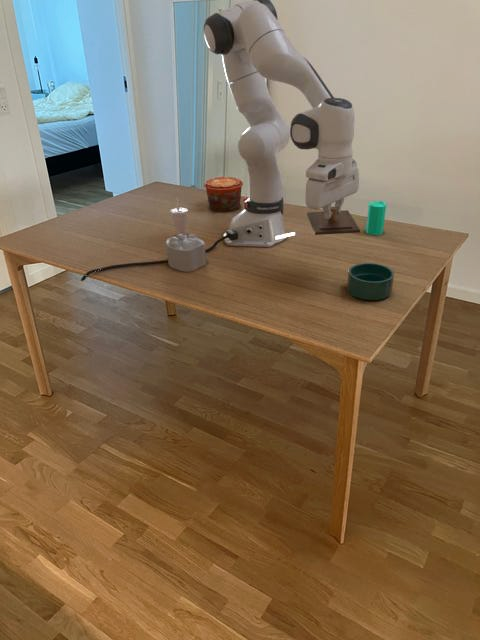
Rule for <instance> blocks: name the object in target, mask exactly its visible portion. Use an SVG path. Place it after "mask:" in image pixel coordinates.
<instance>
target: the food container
mask: <svg viewBox="0 0 480 640" xmlns="http://www.w3.org/2000/svg"><path fill="white" fill-rule="evenodd" d="M243 186H244V182H243V181H242V180H241V179H240V178H237V177H234V176H227V177H224V176H219V177H214V178H210V179H207V180H206V182H205V183H204V185H203V187H204V188H205V192H206V196H207V202H208V206H209V209H210V210H211V211H213V212H218V213H228V212H229V213H230V212H233V211H236V210H238V209H239V208H240V207H241V198H242V189H243V188H242V187H243Z"/></svg>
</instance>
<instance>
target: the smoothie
mask: <svg viewBox="0 0 480 640" xmlns="http://www.w3.org/2000/svg"><path fill="white" fill-rule="evenodd" d="M175 202H176V207H173V208H172V209H170V210H169V213H170V216H171V219H172V223H173V227H174V232H175V235H176V236H177V235H179V234H182V235H184V236H187V233H188V232H187V231H188V213H189V210H188V208H187V207H179V199H178V198H175Z"/></svg>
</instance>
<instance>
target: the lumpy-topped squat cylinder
mask: <svg viewBox="0 0 480 640" xmlns="http://www.w3.org/2000/svg"><path fill="white" fill-rule="evenodd" d="M165 248H166V256H167V260H168V263H167V264H168V266H169V267H170V268H172V269H174V270H177V271H180V272H185V273H188V272H194V271H195V270H197V269H199V268H202V267H204V266H206V265H207V255H206V254H207V253H205V250H206V243H205V241H204V240H202V239H201V238H198V237H197V235H195V234H194V233H191V234H188V235H187V236H184V235H182V234H179V235H177V236H175V235H174V236H171V237H168V238H167V240H166V241H165Z"/></svg>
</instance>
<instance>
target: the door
mask: <svg viewBox="0 0 480 640" xmlns="http://www.w3.org/2000/svg"><path fill="white" fill-rule="evenodd" d="M330 210H331V211H332V212H333V217H332V218H330V219H326V218H325V217H324V211H310V212H306V216H307V218H308V221H309V223H310V226H311V229H312V231H313V234H314V235H315V236H322V235H323V236H324V235H339V234H340V235H341V234H342V235H343V234H355V233H356V234H359V233H360V232H361V229H360V227H359V226H358V224H357V223H356V221H355V219H354V218H353V216H352V215H351V213H350V211H349V210H347V209H346V210H341V213H340V214H338V215H337V208H336V207H334V206H331V207H330Z"/></svg>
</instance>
